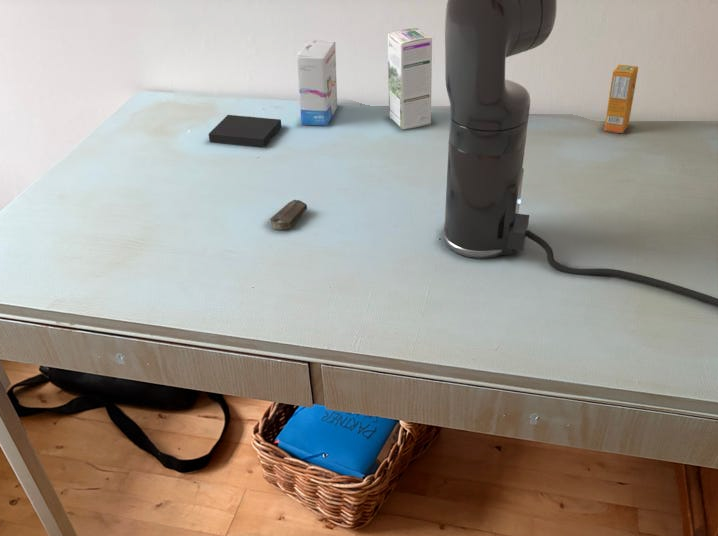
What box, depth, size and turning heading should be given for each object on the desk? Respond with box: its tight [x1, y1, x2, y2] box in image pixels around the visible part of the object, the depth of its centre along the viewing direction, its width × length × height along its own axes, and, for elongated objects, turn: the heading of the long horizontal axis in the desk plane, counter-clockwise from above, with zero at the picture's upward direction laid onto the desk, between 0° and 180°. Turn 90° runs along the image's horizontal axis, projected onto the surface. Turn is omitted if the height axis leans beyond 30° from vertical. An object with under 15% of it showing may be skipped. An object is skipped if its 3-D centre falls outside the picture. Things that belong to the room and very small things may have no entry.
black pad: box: [208, 114, 283, 148], centre depth 127 cm, size 10×8×2 cm
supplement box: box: [603, 64, 639, 134], centre depth 121 cm, size 3×3×10 cm
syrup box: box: [387, 27, 433, 130], centre depth 125 cm, size 6×6×14 cm
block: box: [268, 199, 308, 230], centre depth 105 cm, size 4×6×2 cm, turn 154°
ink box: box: [296, 39, 338, 127], centre depth 129 cm, size 9×5×12 cm, turn 168°
